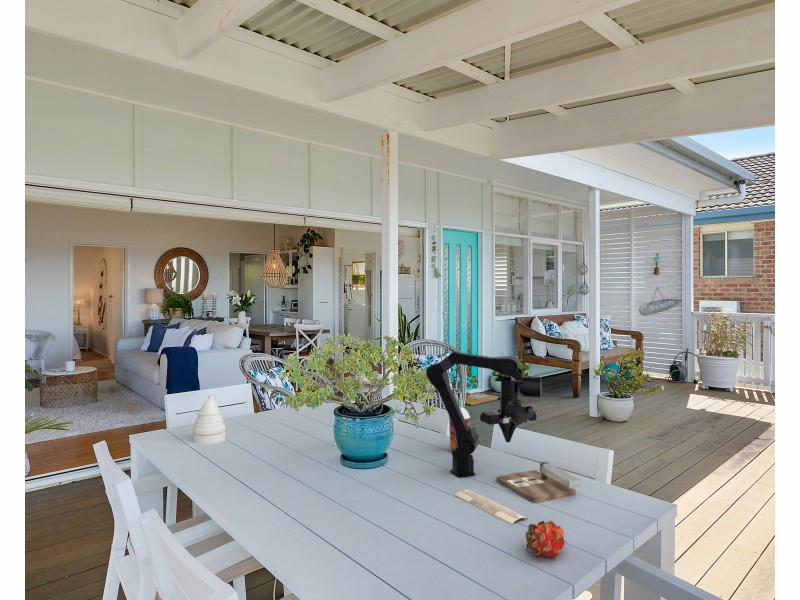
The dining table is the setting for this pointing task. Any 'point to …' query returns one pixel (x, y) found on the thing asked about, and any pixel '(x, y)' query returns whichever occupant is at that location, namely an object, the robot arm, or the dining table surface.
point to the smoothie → (452, 430)
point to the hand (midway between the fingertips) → (507, 442)
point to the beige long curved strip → (489, 506)
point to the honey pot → (209, 424)
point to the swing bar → (559, 475)
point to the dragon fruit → (545, 539)
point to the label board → (535, 486)
